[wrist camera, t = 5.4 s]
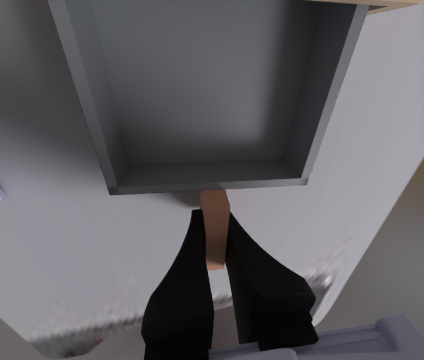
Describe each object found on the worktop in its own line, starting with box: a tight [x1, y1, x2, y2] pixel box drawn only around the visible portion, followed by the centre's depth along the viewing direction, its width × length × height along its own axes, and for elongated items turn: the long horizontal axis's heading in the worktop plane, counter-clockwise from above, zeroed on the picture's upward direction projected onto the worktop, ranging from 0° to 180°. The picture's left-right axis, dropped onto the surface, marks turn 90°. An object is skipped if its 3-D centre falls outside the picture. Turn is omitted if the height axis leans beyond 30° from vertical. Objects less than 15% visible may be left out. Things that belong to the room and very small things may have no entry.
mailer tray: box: [48, 0, 370, 270], centre depth 9 cm, size 20×11×4 cm, turn 178°
